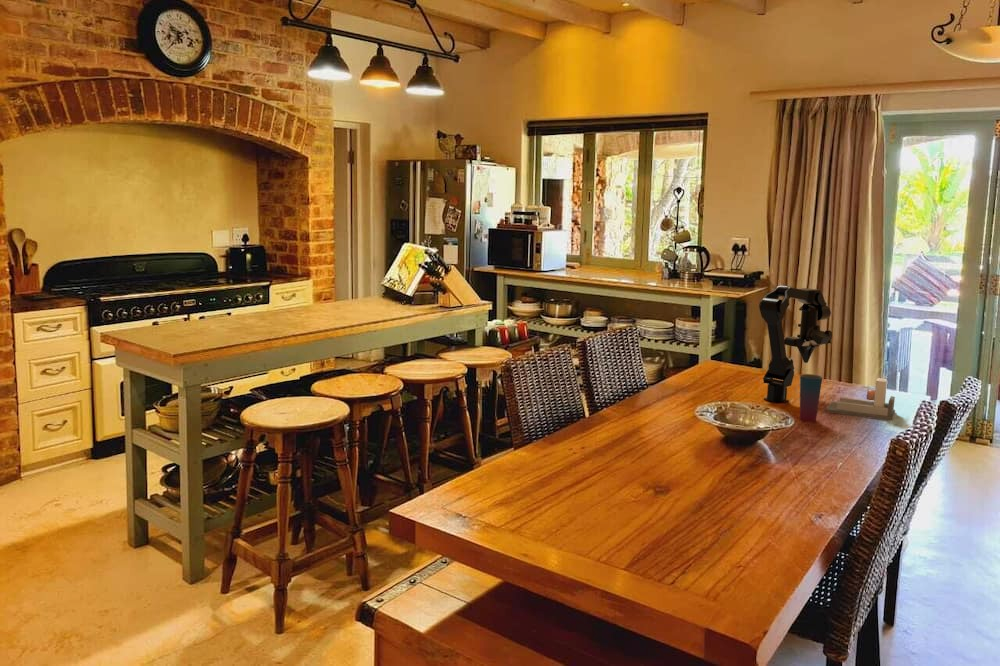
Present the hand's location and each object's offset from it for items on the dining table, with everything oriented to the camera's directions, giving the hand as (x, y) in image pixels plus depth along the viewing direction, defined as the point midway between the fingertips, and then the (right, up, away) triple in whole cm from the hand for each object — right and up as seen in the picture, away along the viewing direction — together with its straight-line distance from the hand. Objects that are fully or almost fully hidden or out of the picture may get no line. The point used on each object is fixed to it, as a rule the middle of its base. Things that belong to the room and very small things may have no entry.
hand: (805, 362), depth 289 cm
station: (+10, -16, -24) cm, 30 cm away
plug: (+13, -16, -26) cm, 33 cm away
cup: (-13, -18, -33) cm, 40 cm away
